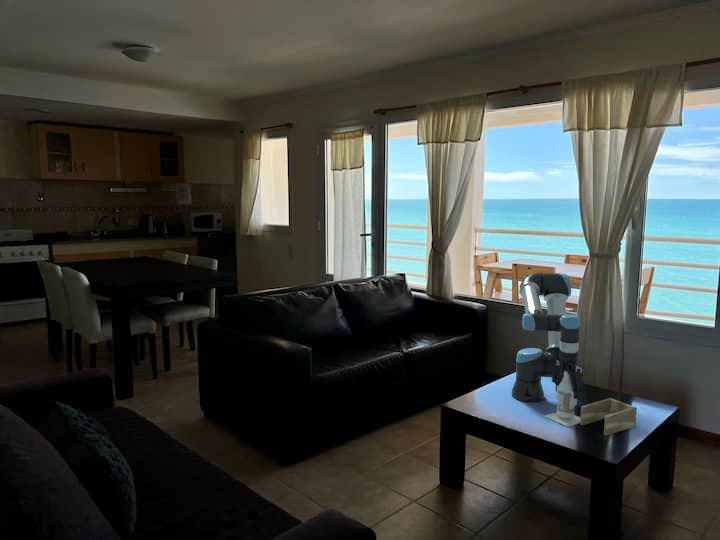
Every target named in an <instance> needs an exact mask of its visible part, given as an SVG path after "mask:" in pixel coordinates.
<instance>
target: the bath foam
mask: <svg viewBox="0 0 720 540" xmlns="http://www.w3.org/2000/svg"><path fill="white" fill-rule="evenodd" d="M571 391H573V387H572V383H571V379H570V376H569V374H568V372H566V371H564V378H563V380H562V381H561V383H560V384H559V387H558V400H556V403H557V404H556V405H557V406H556V412H557V415H558V416H560V417H563V418H572V417H573V416H574V415H575V406H576V405H574V406H571Z"/></svg>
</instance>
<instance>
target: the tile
mask: <svg viewBox="0 0 720 540" xmlns="http://www.w3.org/2000/svg"><path fill="white" fill-rule="evenodd" d="M544 417H545V418H547V420H550V421H553V422H555V423H557V424H559V425H562V426H563V427H566V428H570V427H573V426H575V425H578V424H579V425H580V418H581V416H577V415H576V414H574V416H573V417H572V418H563V417H560V416H558V415H557V411H556V412H553V413H549V414H546V415H544Z"/></svg>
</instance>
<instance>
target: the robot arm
mask: <svg viewBox="0 0 720 540" xmlns="http://www.w3.org/2000/svg"><path fill="white" fill-rule="evenodd" d="M519 293H520V296H522V300H523V305H524V310H525V311H524V312H525V313H524V314H522V319H521V320H522V321H521V323H522V324H521V325H522V329H523V330H525V331H530V332H533V331H537V332H538V331H539V332H547V333H548V347H546V349H545V352H543V350H542V349H541V348H536V347H529V348H528V347H527V348H526V347H525V348H523V349H520V350H519V351H518V352H517V353H516V354H517V355H516V359H515V361H516V367H515V368H516V370H515V373H516V374H515V381H514V384H513V387H512V389H511V397H513V398H514V399H515V400H516V399H517V400H518V401H522V402H527V403H528V402H529V403H535V402H536V403H537V402H542V401H544V399H545V391H544V389H543V385H542V378H551V383H553V384H555V392H556V393H555V395H556V396H555V400H556V401H557V400H558V387H559V384H560V383H561V381H562V380H563V379H564V371H566V372H568V374H569V376H570V379H571V383H572V387H573V391H571V406H574V405H575V406H577V403H578V400H577V399H579V392H582V391H584V381H583V380H584V379H583V377H584V376H583V373H584V368H583V367H580V366H578V360H579V348H580V347H579V344H580V342H579V341H580V340H579V339H580V326H581V319H580V317H579V316H578V315H576V314H571V313H569V314H568V313H566V311H567V310H566V302H567V301H568V300H569V297H570V296H571V295H572V282H571V279H570V277H569V276H568V274H566V273H560V272H555V273H553V272H552V273H550V272H548V273H547V272H535V273H531V274H528V275H527V276H525V277H524V278H523V279H522V280H521V282H520V285H519ZM540 296H542V297H543V300H544V301H545V302H546V303H547V304H546V305H547V306H546V308H547V309H546V311H547V313H545V314H544V313H543V307H542V303H541V299H540ZM575 406H574V407H575Z"/></svg>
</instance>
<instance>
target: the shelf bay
mask: <svg viewBox="0 0 720 540" xmlns="http://www.w3.org/2000/svg"><path fill="white" fill-rule="evenodd" d="M637 410H638V408H637V407H636V406H634V405H630V404H628V403H625V402H622V401H619V400H616V399H614V398H612V397H609V398H605V399H603V400H599V401H598V400H597V401H594V402H592V403H588V404H586V405H585V404H584V405H582V406H580V417H581V418H580V423H579V425H581V426H585V425H588V424H592V423H594V422H597V421H601V420H604V423H603V425H604V426H603V435H604V436H610V435H613V434H615V433H619V432H622V431H625V430H627V429H630V428H633V427H635V426H636V425H637V413H638V412H637Z"/></svg>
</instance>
